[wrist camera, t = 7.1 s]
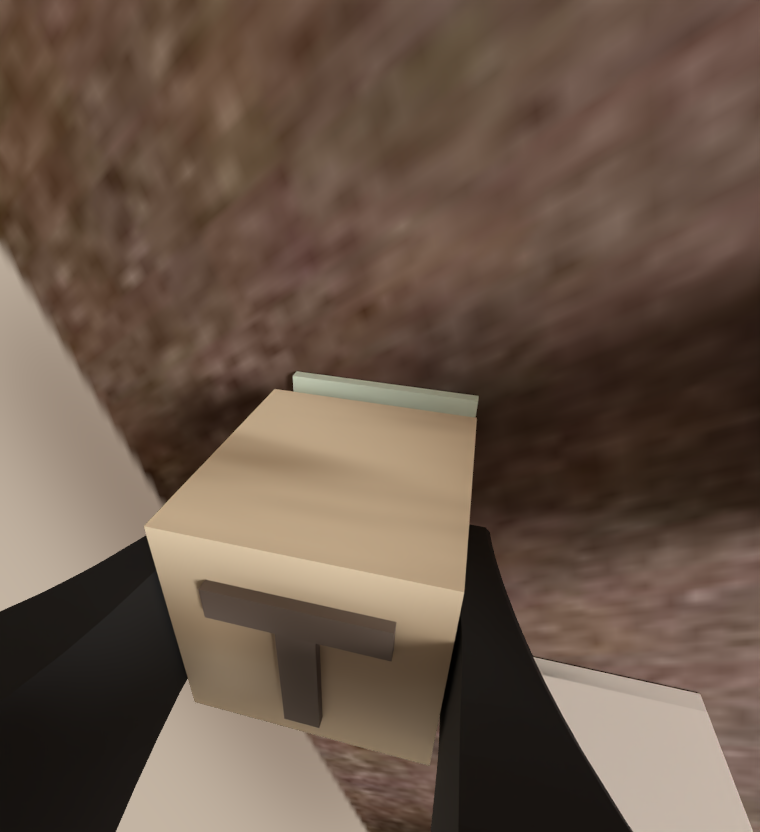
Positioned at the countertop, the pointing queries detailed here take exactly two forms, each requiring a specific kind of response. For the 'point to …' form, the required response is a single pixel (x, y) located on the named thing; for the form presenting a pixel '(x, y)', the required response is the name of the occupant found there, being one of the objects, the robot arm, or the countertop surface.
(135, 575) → the robot arm
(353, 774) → the countertop surface
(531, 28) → the countertop surface
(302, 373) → the sage pad
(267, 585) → the letter cube
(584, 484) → the countertop surface
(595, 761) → the screen
